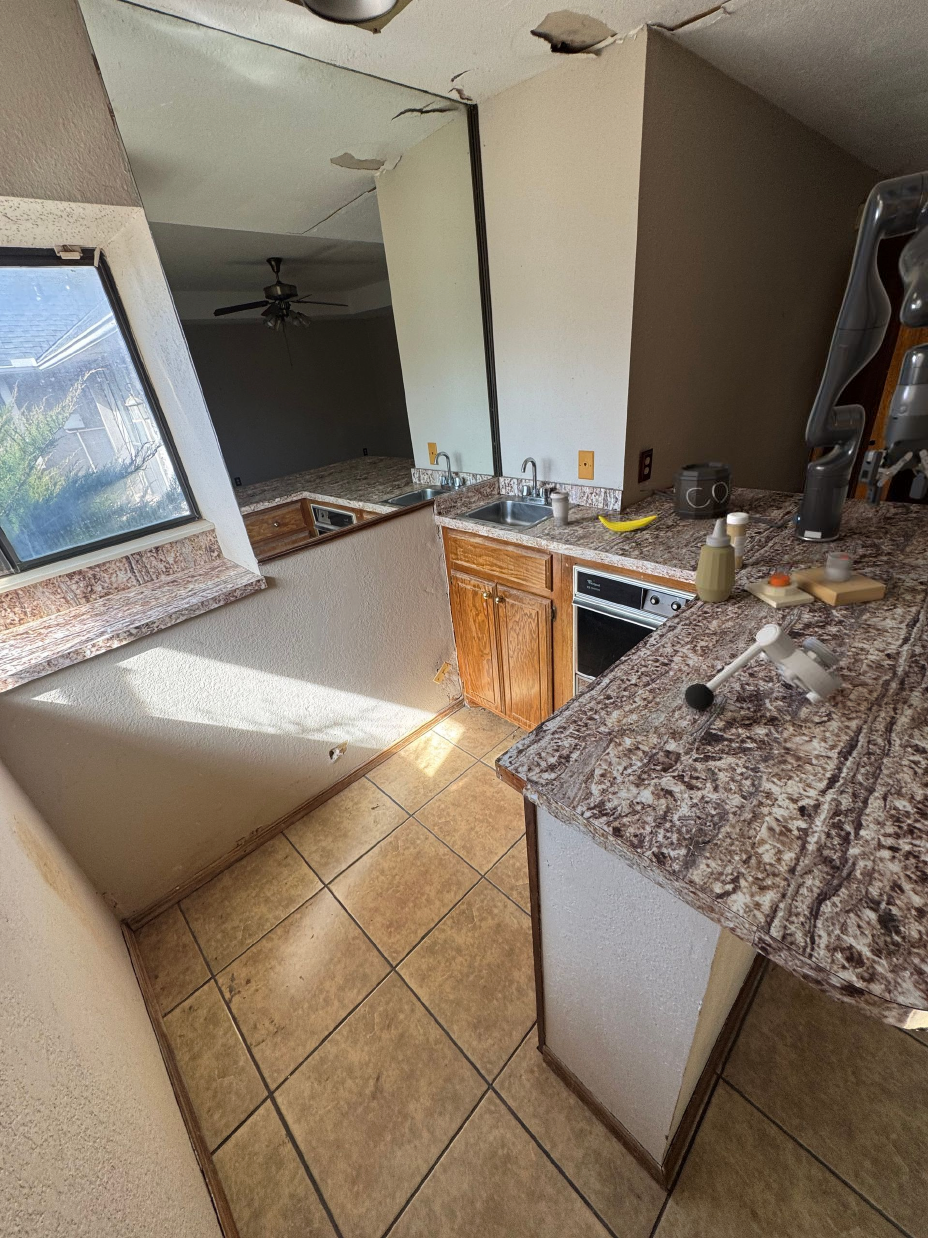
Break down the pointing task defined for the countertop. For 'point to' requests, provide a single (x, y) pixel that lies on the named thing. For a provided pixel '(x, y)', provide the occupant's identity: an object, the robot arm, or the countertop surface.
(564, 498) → the cup
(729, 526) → the sprinkles bottle
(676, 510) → the octagonal grey canister
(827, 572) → the knob
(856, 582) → the panel
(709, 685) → the valve
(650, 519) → the banana
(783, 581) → the button
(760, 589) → the button block
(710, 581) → the squeeze bottle
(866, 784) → the countertop surface
